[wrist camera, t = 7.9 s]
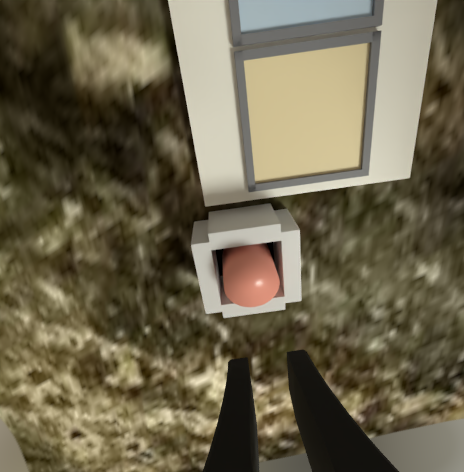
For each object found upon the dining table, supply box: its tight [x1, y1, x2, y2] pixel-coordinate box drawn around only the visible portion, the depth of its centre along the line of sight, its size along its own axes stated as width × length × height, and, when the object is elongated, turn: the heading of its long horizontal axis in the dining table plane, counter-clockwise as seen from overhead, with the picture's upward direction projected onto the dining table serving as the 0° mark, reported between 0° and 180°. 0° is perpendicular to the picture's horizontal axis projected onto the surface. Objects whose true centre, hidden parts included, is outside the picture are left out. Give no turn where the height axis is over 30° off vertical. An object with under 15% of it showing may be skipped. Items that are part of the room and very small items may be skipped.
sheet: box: [168, 0, 437, 207], centre depth 14 cm, size 12×15×1 cm
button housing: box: [191, 203, 301, 318], centre depth 18 cm, size 6×6×3 cm
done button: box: [222, 243, 280, 307], centre depth 17 cm, size 3×3×3 cm
